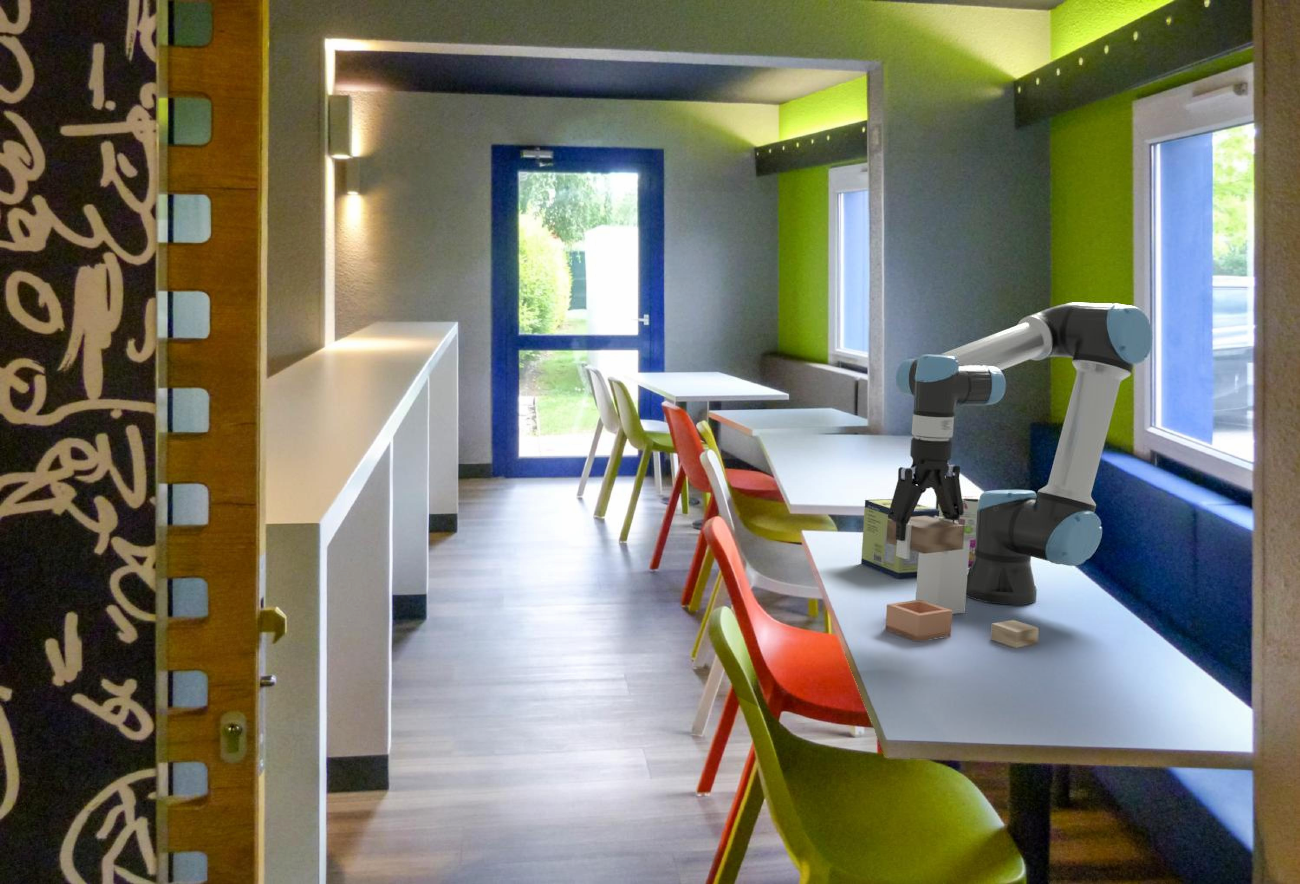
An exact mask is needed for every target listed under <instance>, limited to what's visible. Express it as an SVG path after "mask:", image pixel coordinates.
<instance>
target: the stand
mask: <svg viewBox="0 0 1300 884" xmlns="http://www.w3.org/2000/svg"><path fill="white" fill-rule="evenodd" d="M1039 630H1040V627H1036V626H1033V625H1031V624H1027V623H1024V622H1021V621H1018V620H1016V619H1011V620H1007V621H1006V620H1005V621H1000V622H995V623H991V630H990V631H991V632H990V640H992V641H995V642H996V643H997V642H998V643H1001V644H1004V645H1006V646H1009V647H1012V648H1016V649H1017V648H1021V647H1027V646H1032V645H1038V641H1039Z"/></svg>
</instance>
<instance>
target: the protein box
mask: <svg viewBox="0 0 1300 884" xmlns="http://www.w3.org/2000/svg"><path fill="white" fill-rule="evenodd" d="M892 499H893V498H885V499H884V498H883V499H882V498H881V499H879V498H877V499H864V511H863V532H862V542H861V543H862V545H861V559H860V560H861V562H860V565H863V566H865V567H868V568H869V569H872V570H874V571H877V572H880V573H881V574H884V575H887V576H889V577H892V578H894V579H896V580H904V579H913V578H916V579H917V572H918V558H919V552H917V551H913V550H910V555H909V559H904V558H901V557H898V556H896V549H897V546H896V545H893V544H889V543H886V537H887V523H888V519H889V518H888V513H889V510H890V506H891V503H892ZM895 514H896V513H895ZM917 516H929V517H933V518H934V516H938V517H939V510H938V509H936V508H934V507H931V506H927V505H923V504H920V503H919V502H918V503H917V505H916V507H915V509H914V511H913V514H912V516H911V517H917ZM903 517H904V515H903Z"/></svg>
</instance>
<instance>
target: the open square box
mask: <svg viewBox="0 0 1300 884" xmlns="http://www.w3.org/2000/svg"><path fill="white" fill-rule="evenodd" d="M952 612H953V610H950V609H947V608H944V607H941V606H938V605H935V604H932V603H929V602H926V601H923V600H916V599H914V600H908V601H907V600H906V601H902V602H895V603H887V604H886V613H885V614H886V615H885V616H886V617H885V627H884V629H885V630H886V631H888V632H890V633H893V634H896V635H898V636H901V637H904V638H907V639H909V640H912V641H914V642H917V643H919V642H918V641H920V642H924V641H930V639H931V640H936V639H935V638H937V639H941V638H940V637H943V638H947V637H948V638H949V637H952V626H953V625H952V623H953V622H952V621H953V614H952Z"/></svg>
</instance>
